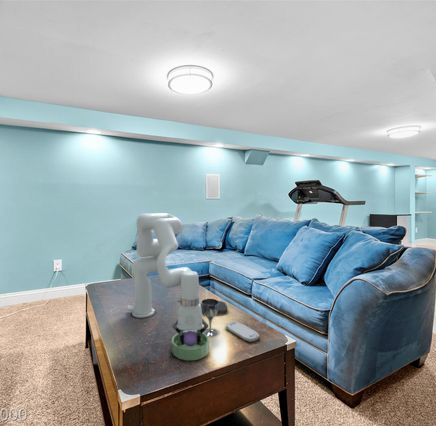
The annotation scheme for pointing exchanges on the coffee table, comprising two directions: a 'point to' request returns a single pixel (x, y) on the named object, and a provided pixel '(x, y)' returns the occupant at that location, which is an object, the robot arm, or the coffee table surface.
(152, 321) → the coffee table surface
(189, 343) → the ball
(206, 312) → the wine glass
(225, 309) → the media streaming box
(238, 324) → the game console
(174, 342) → the bowl
